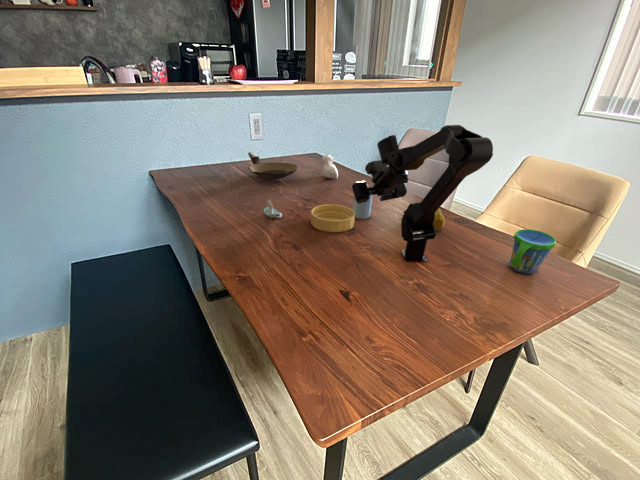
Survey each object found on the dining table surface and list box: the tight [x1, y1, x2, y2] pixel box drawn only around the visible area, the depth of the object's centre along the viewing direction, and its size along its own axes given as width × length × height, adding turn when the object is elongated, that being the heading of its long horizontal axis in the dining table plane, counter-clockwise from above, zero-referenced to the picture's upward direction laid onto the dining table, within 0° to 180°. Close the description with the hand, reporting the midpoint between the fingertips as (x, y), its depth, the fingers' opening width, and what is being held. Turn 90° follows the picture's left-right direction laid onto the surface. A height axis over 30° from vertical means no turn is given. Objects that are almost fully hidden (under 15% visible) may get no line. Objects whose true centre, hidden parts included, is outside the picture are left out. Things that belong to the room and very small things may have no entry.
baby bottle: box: [352, 186, 373, 220], centre depth 132 cm, size 7×7×12 cm
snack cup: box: [509, 228, 557, 275], centre depth 105 cm, size 16×10×10 cm
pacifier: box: [263, 199, 283, 219], centre depth 131 cm, size 7×6×6 cm
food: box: [433, 207, 446, 231], centre depth 133 cm, size 21×6×6 cm, turn 174°
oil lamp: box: [247, 151, 299, 180], centre depth 170 cm, size 22×30×8 cm
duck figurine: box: [322, 153, 339, 180], centre depth 170 cm, size 12×8×11 cm
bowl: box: [310, 204, 356, 233], centre depth 127 cm, size 15×15×4 cm
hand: (369, 201), depth 128 cm, fingers open, 9 cm apart
